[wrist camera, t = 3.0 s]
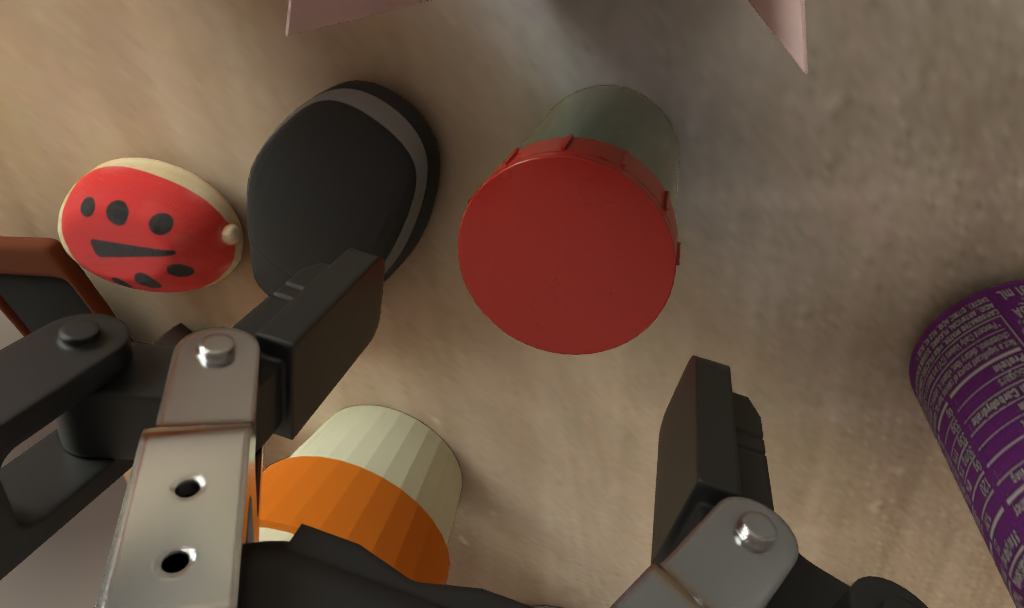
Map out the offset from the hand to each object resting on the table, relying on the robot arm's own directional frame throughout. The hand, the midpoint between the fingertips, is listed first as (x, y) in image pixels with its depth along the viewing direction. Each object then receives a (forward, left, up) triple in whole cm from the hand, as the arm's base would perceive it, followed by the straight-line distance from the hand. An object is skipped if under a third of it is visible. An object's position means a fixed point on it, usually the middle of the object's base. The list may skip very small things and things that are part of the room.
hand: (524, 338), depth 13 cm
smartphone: (+33, -7, -12) cm, 36 cm away
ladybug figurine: (+17, -13, -13) cm, 25 cm away
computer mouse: (+10, -6, -13) cm, 17 cm away
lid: (0, 0, -4) cm, 4 cm away
